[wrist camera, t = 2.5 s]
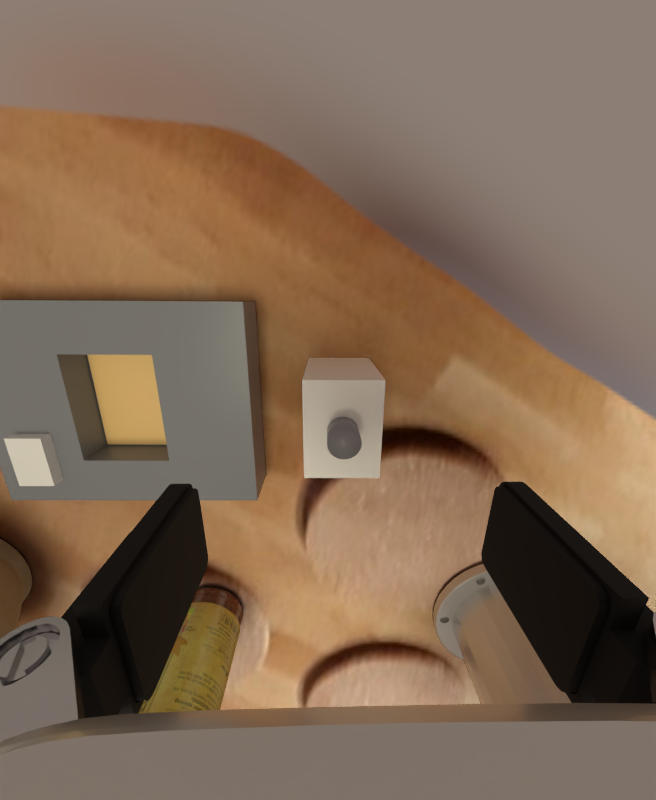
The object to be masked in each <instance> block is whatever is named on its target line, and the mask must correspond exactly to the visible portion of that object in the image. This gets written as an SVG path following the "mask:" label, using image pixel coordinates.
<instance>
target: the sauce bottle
mask: <svg viewBox="0 0 656 800" xmlns="http://www.w3.org/2000/svg"><path fill="white" fill-rule="evenodd" d="M242 616H243V614H242V607H241V605H240V603H239V601H238V599H237V598H236V597H235V596H234V595H232V594H231V593H230V592H228V591H225V590H222V589H218V588H212V587H204V588H201V589H198V590H197V592H196V594H195V597H194V599H193V601H192V604H191V606H190V608H189V611H188V613H187V616H186V618H185V620H184V623H183V625H182V627H181V630H180V632H179V634H178V637H177V639H176V642H175V644H174V646H173V649H172V651H171V653H170V656H169V658H168V661H167V663H166V665H165V668H164V670H163V672H162V675H161V677H160V679H159V682H158V684H157V687H156V689H155V691H154V693H153V695H152V697H151V698H150V699H149V700H144V702H143V704H142V706H141V708H140V711H139V713H158V712H179V711H201V710H220V707H221V703H222V699H223V696H224V692H225V688H226V684H227V680H228V676H229V672H230V668H231V664H232V660H233V656H234V652H235V648H236V644H237V640H238V637H239V632H240V624H241V621H242Z"/></svg>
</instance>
